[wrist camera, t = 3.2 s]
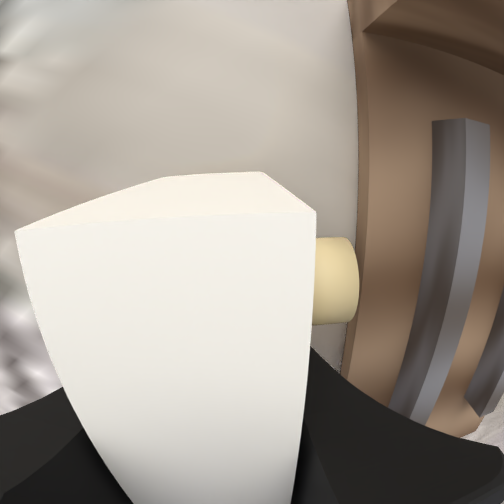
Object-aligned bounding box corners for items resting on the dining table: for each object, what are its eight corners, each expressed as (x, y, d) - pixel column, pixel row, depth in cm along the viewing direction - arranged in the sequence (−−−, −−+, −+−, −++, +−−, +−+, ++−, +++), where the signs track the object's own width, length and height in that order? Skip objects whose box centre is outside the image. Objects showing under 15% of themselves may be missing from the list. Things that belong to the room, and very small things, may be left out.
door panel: (288, 412, 12) (312, 553, 6) (197, 415, 12) (180, 556, 5) (294, 170, 9) (417, 212, 3) (164, 176, 9) (15, 230, 2)
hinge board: (469, 422, 16) (504, 475, 10) (320, 463, 16) (338, 541, 10) (535, 68, 8) (612, 64, 3) (347, -2, 8) (416, -85, 3)
